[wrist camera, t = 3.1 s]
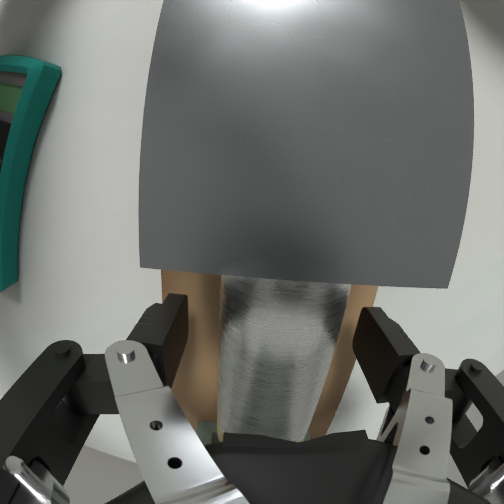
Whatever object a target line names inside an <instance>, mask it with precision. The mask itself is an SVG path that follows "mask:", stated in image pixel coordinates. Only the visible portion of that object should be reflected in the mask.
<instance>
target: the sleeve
mask: <svg viewBox="0 0 504 504" xmlns="http://www.w3.org/2000/svg"><path fill="white" fill-rule="evenodd" d="M473 141H474V98H473V81H472V70H471V61H470V53H469V46H468V40H467V34H466V29H465V24H464V19H463V15H462V10H461V6H460V2H459V0H164V2H163V6H162V10H161V14H160V18H159V22H158V27H157V32H156V37H155V42H154V47H153V52H152V58H151V64H150V70H149V76H148V83H147V91H146V98H145V107H144V116H143V127H142V139H141V153H140V173H139V252H140V267H142V268H152V269H162V270H172V271H182V272H193V273H203V274H215V275H226V276H238V277H250V278H263V279H276V280H290V281H304V282H320V283H336V284H353V285H372V286H393V287H417V288H448V285H449V282H450V278H451V275H452V271H453V268H454V264H455V260H456V256H457V252H458V248H459V244H460V239H461V235H462V230H463V225H464V220H465V214H466V208H467V202H468V195H469V188H470V180H471V170H472V158H473Z"/></svg>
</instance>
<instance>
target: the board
mask: <svg viewBox="0 0 504 504" xmlns="http://www.w3.org/2000/svg"><path fill="white" fill-rule="evenodd" d="M161 279H162V300H163V302H164V300H165V299H166V297H167V295H168V294H169V293H175V294H184V295H187V296H188V320H189V333H188V340H187V344H186V346H185V349H184V352H183V355H182V358H181V361H180V364H179V367H178V370H177V373H176V376H175V379H174V382H173V385H172V388H171V391H172V392H173V394H174V396H175V398H176V400H177V402H178V404H179V405H180V407H181V409H182V411H183V412H184V414H185V416H186V418H187V419H188V421H189V423H190V425H191V426H192V428H193V430H194V431H195V433H196V429H197V423H198V421H203V422H212V423H217V386H218V344H219V315H220V290H221V275H215V274H203V273H193V272H182V271H172V270H162V269H161ZM377 289H378V286H372V285H353V284H352V285H351V289H350V293H349V298H348V302H347V306H346V310H345V314H344V318H343V322H342V326H341V329H340V333H339V337H338V340H337V344H336V347H335V351H334V354H333V357H332V361H331V364H330V367H329V370H328V374H327V377H326V380H325V383H324V386H323V389H322V392H321V395H320V398H319V401H318V404H317V406H316V409H315V412H314V415H313V417H312V420H311V423H310V425H309V428H308V430H309V435H310V440H311V439H314V438H318V437H322V436H325V435H326V432H327V430H328V428H329V426H330V424H331V421H332V419H333V417H334V415H335V412H336V410H337V408H338V405H339V403H340V400H341V398H342V396H343V393H344V391H345V388H346V385H347V383H348V380H349V378H350V375H351V372H352V369H353V367H354V364H355V361H356V356H355V354H354V352H353V347H352V341H353V336H354V333H355V330H356V326H357V323H358V319H359V315H360V312H361V310H362V308H363V307H373V304H374V300H375V296H376V293H377Z"/></svg>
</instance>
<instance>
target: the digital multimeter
mask: <svg viewBox="0 0 504 504" xmlns="http://www.w3.org/2000/svg"><path fill="white" fill-rule="evenodd" d="M60 74H61V68H60V67H59V66H57V65H54V64H51V63H48V62H45V61H42V60H39V59H35V58H30V57H25V56H18V55H4V56H0V292H2V291H3V290H5V289H6V288H8V287H9V286H11V285H12V284H14V283H15V282H17V280H18V237H19V226H20V216H21V208H22V200H23V193H24V187H25V182H26V178H27V173H28V169H29V164H30V160H31V156H32V152H33V148H34V144H35V141H36V138H37V134H38V131H39V128H40V126H41V123H42V120H43V117H44V115H45V112H46V109H47V107H48V104H49V101H50V99H51V96H52V94H53V91H54V89H55V86H56V84H57V82H58V79H59V77H60Z"/></svg>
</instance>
